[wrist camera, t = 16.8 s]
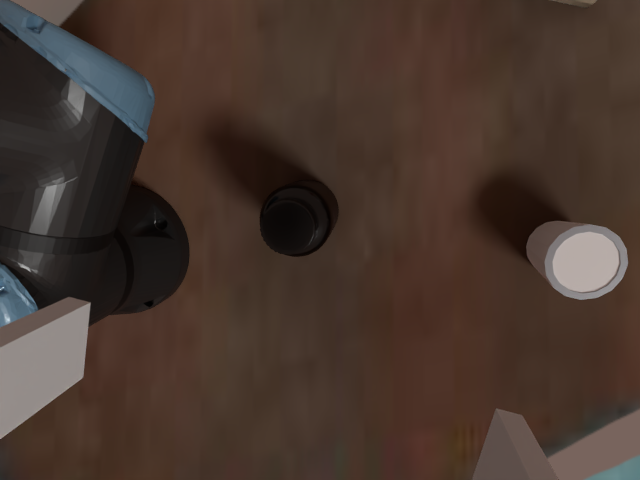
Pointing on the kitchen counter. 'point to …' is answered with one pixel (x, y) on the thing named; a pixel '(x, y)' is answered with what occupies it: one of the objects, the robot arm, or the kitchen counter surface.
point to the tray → (577, 2)
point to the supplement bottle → (298, 217)
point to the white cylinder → (578, 258)
